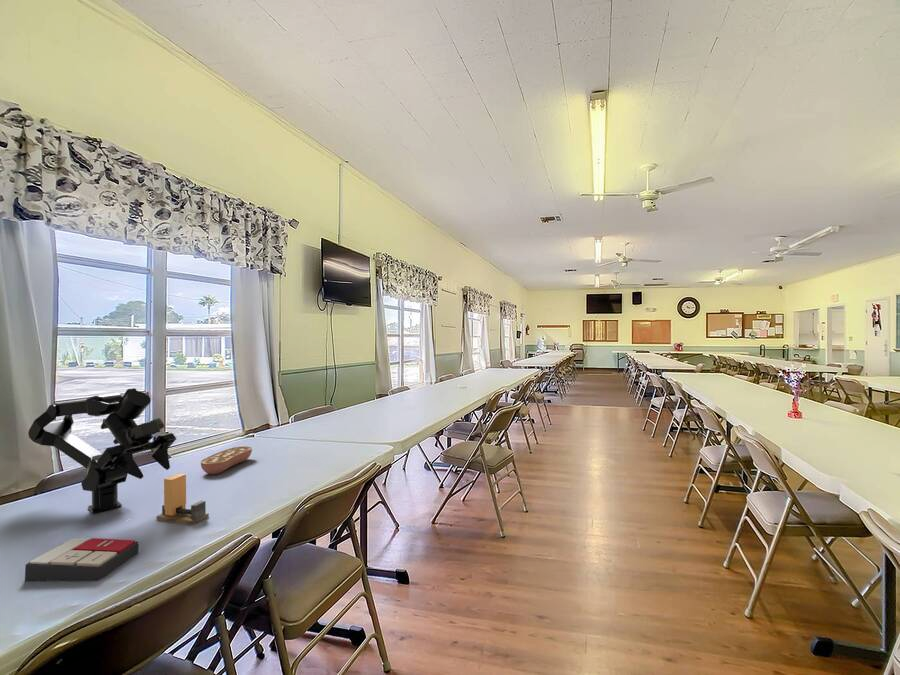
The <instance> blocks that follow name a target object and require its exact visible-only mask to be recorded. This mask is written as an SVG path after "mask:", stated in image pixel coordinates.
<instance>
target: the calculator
mask: <svg viewBox="0 0 900 675" xmlns="http://www.w3.org/2000/svg"><path fill="white" fill-rule="evenodd" d="M138 554H139V541H136V539H119V538H118V539H117V538H96V537H93V538H92V537H91V538H77V537H76V538H75V537H74V538H71V539H69V540H67V541H65V542H63V543H61V544H60V545H57V546H56V547H54V548H52V549H50V550H49V551H47V552H45V553H43V554H41V555H39V556H37V557H36V558H34V559H32V560H30V561H29V562H28V563H26V564H25V567H24V568H25V571H24V582H47V581H56V582H58V581H60V582H61V581H62V582H98V581H101V580H103V579H104V578H106V577H107V576H108V575H110V574H111V573H112V572H114V571H115V570H117V569H118V568H119V567H121V566H122V565H124V564H125V563H127V562H128V561H130V560H131V559H132V558H134V557H135V556H137V555H138Z"/></svg>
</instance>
